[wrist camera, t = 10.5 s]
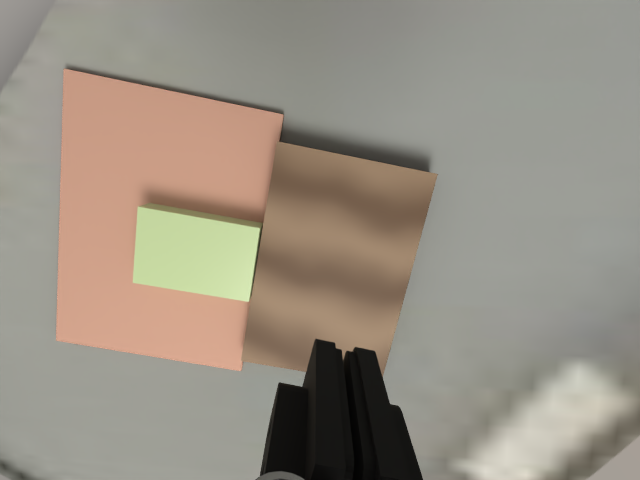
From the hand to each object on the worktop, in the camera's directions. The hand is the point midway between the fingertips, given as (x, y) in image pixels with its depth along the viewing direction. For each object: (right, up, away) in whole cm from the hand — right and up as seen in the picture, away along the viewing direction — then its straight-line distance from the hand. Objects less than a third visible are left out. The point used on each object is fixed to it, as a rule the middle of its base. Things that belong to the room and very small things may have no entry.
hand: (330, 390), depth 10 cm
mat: (-13, +5, +19) cm, 24 cm away
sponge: (-10, +3, +18) cm, 21 cm away
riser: (+1, +2, +20) cm, 20 cm away
